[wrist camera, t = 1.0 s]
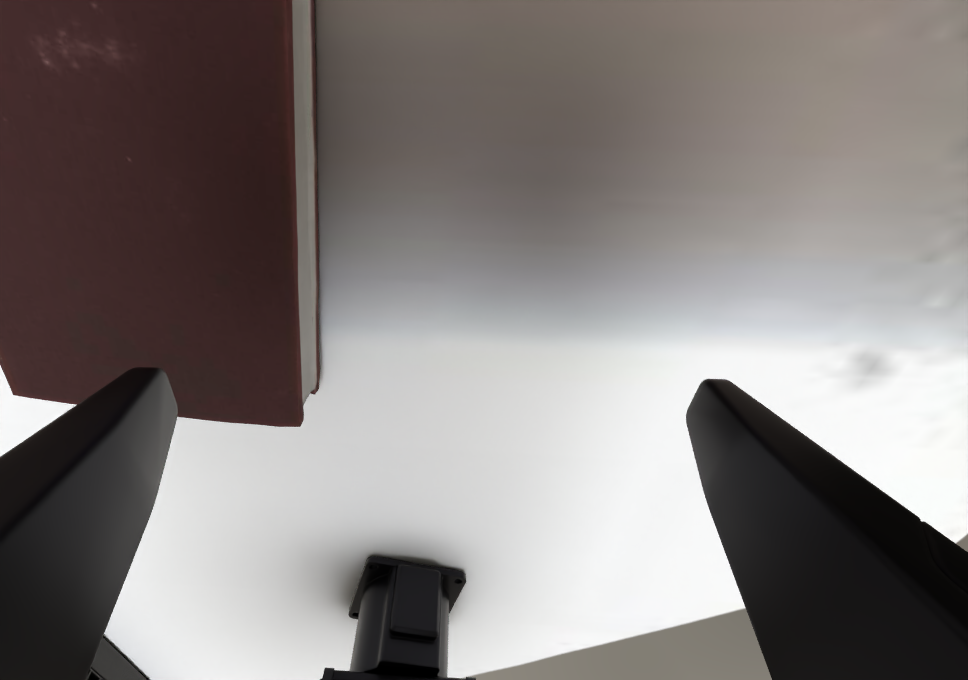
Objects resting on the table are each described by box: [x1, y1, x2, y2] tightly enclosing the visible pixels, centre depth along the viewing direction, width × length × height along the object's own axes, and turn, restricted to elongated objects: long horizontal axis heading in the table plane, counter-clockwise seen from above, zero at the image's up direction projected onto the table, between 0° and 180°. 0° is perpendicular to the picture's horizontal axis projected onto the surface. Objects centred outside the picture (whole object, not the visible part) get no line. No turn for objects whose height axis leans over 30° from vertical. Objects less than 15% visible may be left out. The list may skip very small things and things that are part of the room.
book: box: [0, 0, 320, 427], centre depth 19 cm, size 12×19×3 cm, turn 171°
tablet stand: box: [86, 637, 147, 680], centre depth 38 cm, size 18×3×3 cm, turn 9°
